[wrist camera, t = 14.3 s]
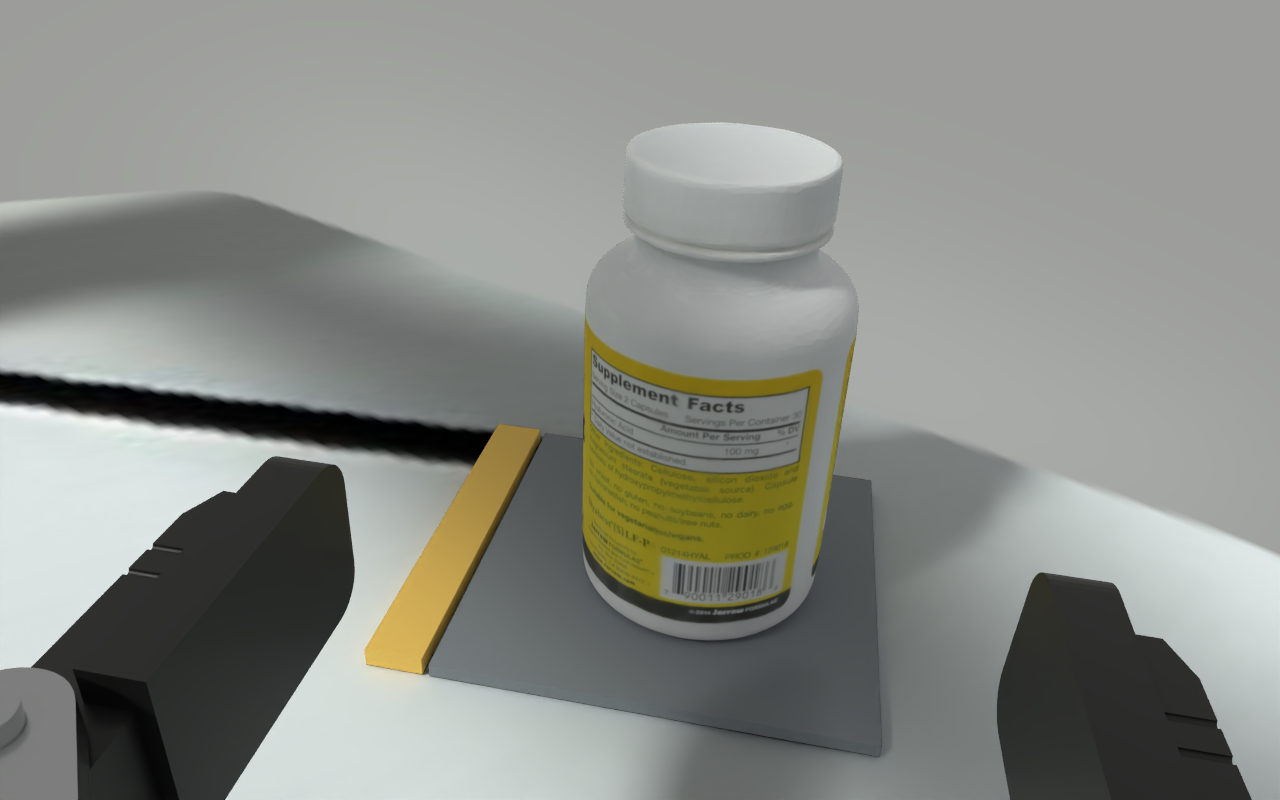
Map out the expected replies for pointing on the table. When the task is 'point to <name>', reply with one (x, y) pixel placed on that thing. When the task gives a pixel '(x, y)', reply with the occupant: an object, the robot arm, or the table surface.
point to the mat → (613, 644)
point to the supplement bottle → (715, 380)
